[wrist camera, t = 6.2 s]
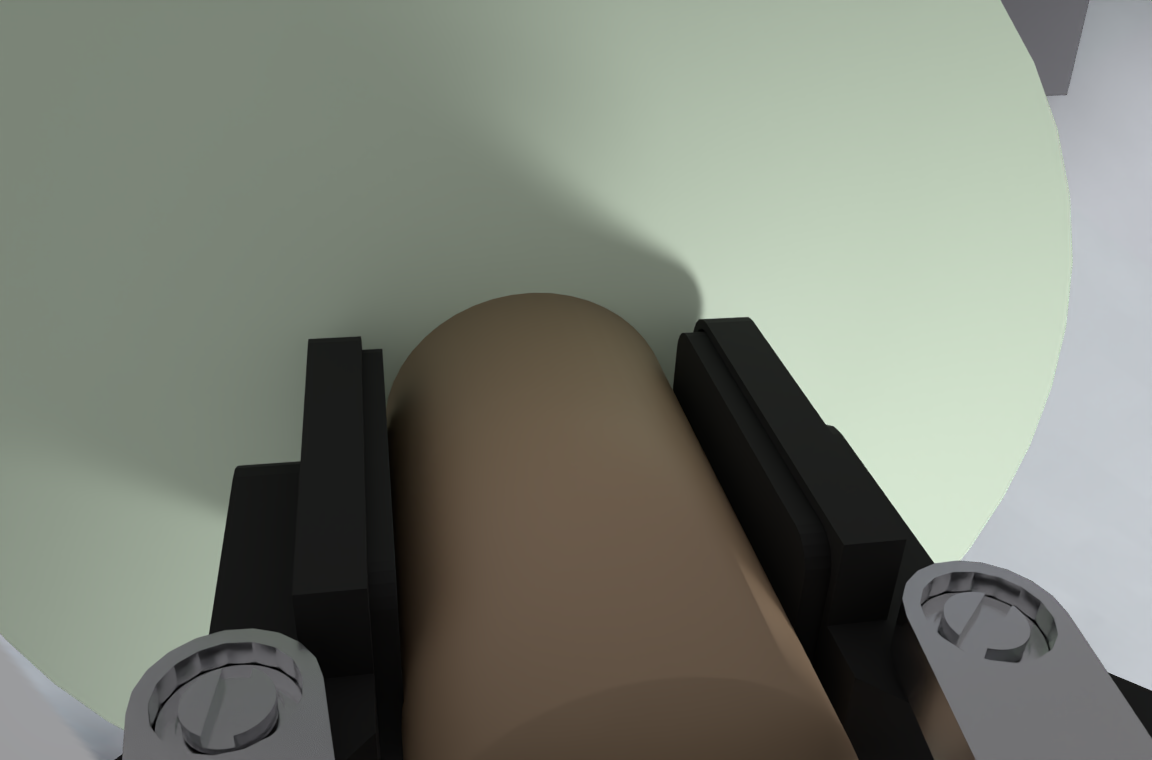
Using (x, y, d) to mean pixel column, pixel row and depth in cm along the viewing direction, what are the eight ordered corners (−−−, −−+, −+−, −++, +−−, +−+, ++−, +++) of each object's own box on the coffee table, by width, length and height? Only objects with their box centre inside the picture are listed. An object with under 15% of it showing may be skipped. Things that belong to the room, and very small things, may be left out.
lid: (1179, -220, 11) (2012, -179, 5) (917, 710, 17) (1174, 1146, 12) (-301, -284, 8) (-1441, -335, 3) (48, 816, 15) (-117, 1414, 10)
